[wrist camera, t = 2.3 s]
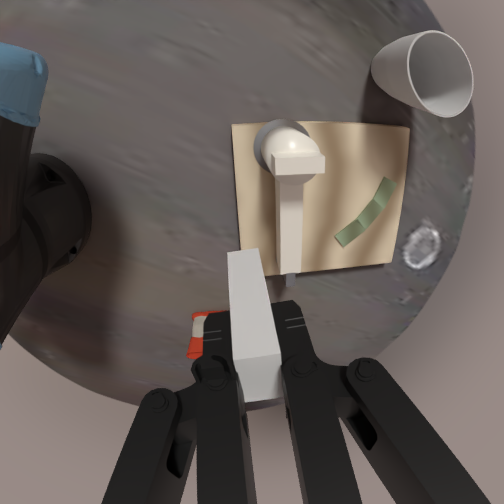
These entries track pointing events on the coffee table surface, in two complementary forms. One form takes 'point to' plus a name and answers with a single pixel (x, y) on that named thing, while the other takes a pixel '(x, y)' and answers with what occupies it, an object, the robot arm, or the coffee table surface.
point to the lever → (290, 190)
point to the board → (327, 193)
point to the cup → (425, 73)
